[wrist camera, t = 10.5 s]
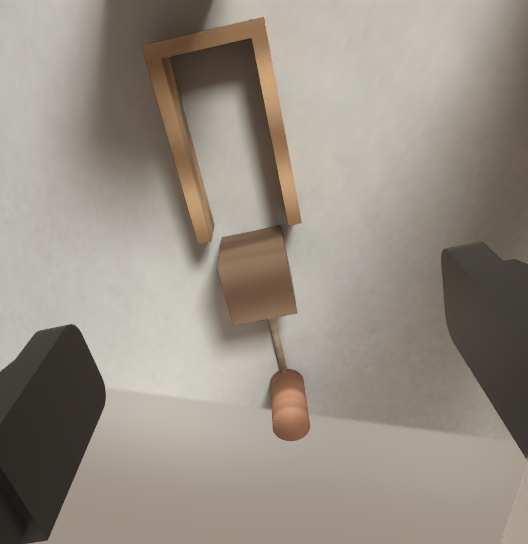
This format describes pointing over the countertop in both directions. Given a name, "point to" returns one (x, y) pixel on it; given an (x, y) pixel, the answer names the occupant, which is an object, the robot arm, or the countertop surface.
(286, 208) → the frame
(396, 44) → the countertop surface
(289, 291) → the tethered walnut block
